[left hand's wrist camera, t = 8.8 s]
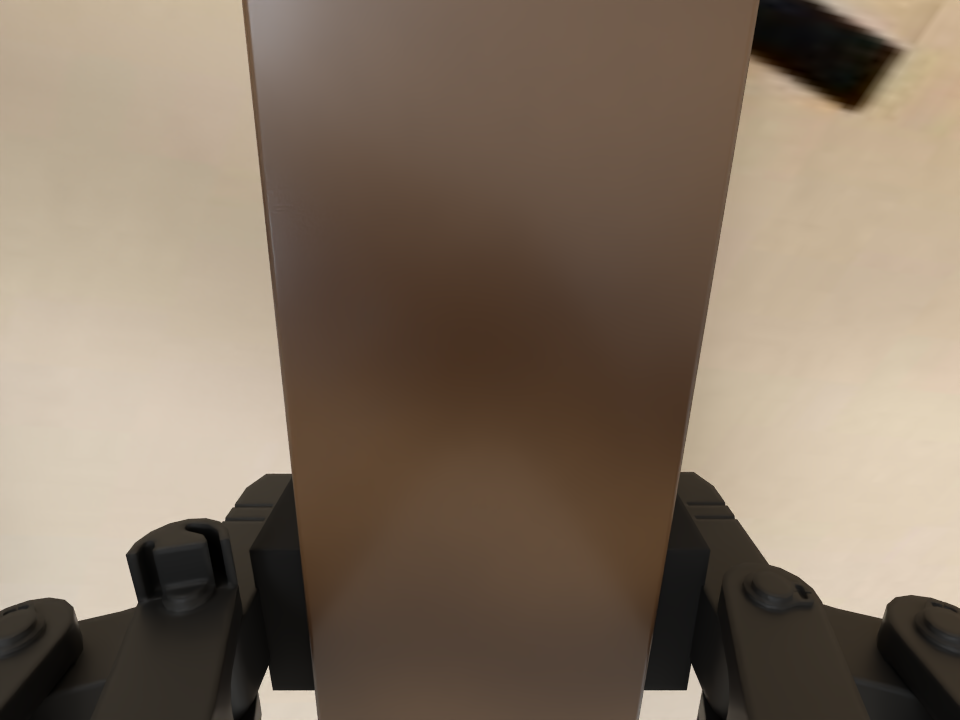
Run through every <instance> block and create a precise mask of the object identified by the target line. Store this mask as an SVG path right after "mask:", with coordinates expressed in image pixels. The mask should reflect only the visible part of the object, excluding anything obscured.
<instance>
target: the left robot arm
mask: <svg viewBox="0 0 960 720" xmlns="http://www.w3.org/2000/svg"><path fill="white" fill-rule="evenodd" d="M126 558H127V561H128V565H129V569H130V573H131V577H132V580H133V584H134V588H135V592H136V596H137V599H138V604H137V607H134V608H131V609H128V610H124V611H121V612H116V613H112V614H108V615H103V616H99V617H95V618H90V619H86V620H81V621H77V617H76V614H75V611H74V608H73V607H72V606H71V605H70V604H69V603H68V602H67V601H65V600H62V599H55V598H43V599H36V600H29V601H26V602H23V603H19V604H17V605H14V606H11V607H8V608H6V609H4V610H2V611H0V720H261V715H262V714H261V706H260V700H259V694H258V690H259V687H260V685H261V682H262V680H263V677H264V675H265V673H266V670H267V668H268V665H269V670H270V676H271V682H272V687H273V690H315V687H314V677H313V668H312V659H311V649H310V640H309V630H308V621H307V611H306V602H305V592H304V583H303V573H302V564H301V554H300V545H299V535H298V526H297V517H296V507H295V498H294V488H293V479H292V474H266V475H264V476H263V477H261V478H260V479H258V480H257V481H256V482H254V483H253V484H251V485H250V486H249V487H247V488H246V489H245V491H244V492H243V494H242V495H241V496H240V498H239V499H238V501H237V502H236V504H235V508H232V509H231V511H230V512H229V514H228V515H227V516H226V518H225V521H223V522H222V523H221V522H219V521H215V520H211V519H207V518H201V519H186V520H182V521H178V522H174V523H170V524H167V525H165V526H163V527H161V528H158V529H156V530H154V531H151V532H150V533H148V534H147V535H146V536H144V537H143V538H141V539H140V540H138V541H137V542H136V543H135V544H134V545H133V546H132V548H131V549H130V550H129V551H128V553H127V554H126ZM691 663H692V666H693V668H694V671H695V673H696V675H697V678H698V680H699V683H700V685H701V687H702V694H701V700H700V705H699V710H698V716H697V720H960V608H958V607H956V606H954V605H951V604H948V603H946V602H942V601H939V600H936V599H933V598H928V597H921V596H914V595H908V596H902V597H895V598H894V599H893V600H892V601H891V602H890V603H888V604H887V606H886V610H885V613H884V616H883V619H881V618H876V617H872V616H867V615H863V614H859V613H854V612H850V611H845V610H841V609H837V608H834V607H830V606H827V605H823V603H822V601H821V600H820V598H819V597H818V595H817V594H816V593H815V591H814V590H813V588H811V587H810V586H809V585H808V584H806V583H805V582H804V581H803V580H801V579H800V578H799V577H797V576H795V575H793V574H791V573H789V572H787V571H785V570H783V569H781V568H778V567H775V566H771V565H769V564H768V563H767V561H766V560H765V558H764V557H763V555H762V554H761V553H760V551H759V550H758V548H757V547H756V546H755V544H754V543H753V541H752V540H751V538H750V537H749V536H748V534H747V533H746V531H745V530H744V529H743V527H742V526H741V524H740V523H739V521H738V520H737V519H735V516H734V514H733V513H732V512H731V510H730V509H729V507H728V506H725V502H724V500H723V499H722V497H721V496H720V495H719V493H718V492H717V490H716V489H715V487H714V486H713V485H711V484H710V483H708V482H707V481H706V480H704V479H703V478H701V477H700V476H698V475H697V474H696V473H694V472H680V477H679V483H678V489H677V495H676V501H675V506H674V512H673V518H672V524H671V530H670V536H669V542H668V548H667V554H666V560H665V566H664V572H663V578H662V584H661V590H660V596H659V602H658V608H657V614H656V620H655V626H654V632H653V638H652V643H651V649H650V655H649V661H648V667H647V673H646V679H645V685H644V690H687V685H688V680H689V674H690V668H691Z"/></svg>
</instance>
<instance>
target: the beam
mask: <svg viewBox="0 0 960 720" xmlns="http://www.w3.org/2000/svg"><path fill="white" fill-rule="evenodd" d="M242 6H243V15H244V25H245V34H246V43H247V53H248V62H249V72H250V81H251V91H252V100H253V110H254V119H255V129H256V138H257V148H258V157H259V166H260V176H261V185H262V195H263V204H264V214H265V223H266V233H267V242H268V252H269V261H270V271H271V280H272V289H273V299H274V308H275V318H276V327H277V337H278V346H279V356H280V365H281V375H282V384H283V394H284V403H285V412H286V422H287V431H288V441H289V450H290V460H291V469H292V479H293V488H294V498H295V507H296V517H297V526H298V535H299V545H300V554H301V564H302V573H303V583H304V592H305V602H306V611H307V621H308V630H309V640H310V649H311V659H312V668H313V677H314V687H315V696H316V706H317V715H318V720H639V715H640V709H641V703H642V697H643V691H644V685H645V679H646V673H647V667H648V661H649V655H650V649H651V643H652V638H653V632H654V626H655V620H656V614H657V608H658V602H659V596H660V590H661V584H662V578H663V572H664V566H665V560H666V554H667V548H668V542H669V536H670V530H671V524H672V518H673V512H674V506H675V501H676V495H677V489H678V483H679V477H680V471H681V465H682V459H683V453H684V447H685V441H686V435H687V429H688V423H689V417H690V411H691V405H692V399H693V393H694V387H695V381H696V375H697V369H698V364H699V358H700V352H701V346H702V340H703V334H704V328H705V322H706V316H707V310H708V304H709V298H710V292H711V286H712V280H713V274H714V268H715V262H716V256H717V250H718V244H719V238H720V232H721V227H722V221H723V215H724V209H725V203H726V197H727V191H728V185H729V179H730V173H731V167H732V161H733V155H734V149H735V143H736V137H737V131H738V125H739V119H740V113H741V107H742V101H743V95H744V90H745V84H746V78H747V72H748V66H749V60H750V54H751V48H752V42H753V36H754V30H755V24H756V18H757V12H758V6H759V0H242Z"/></svg>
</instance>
